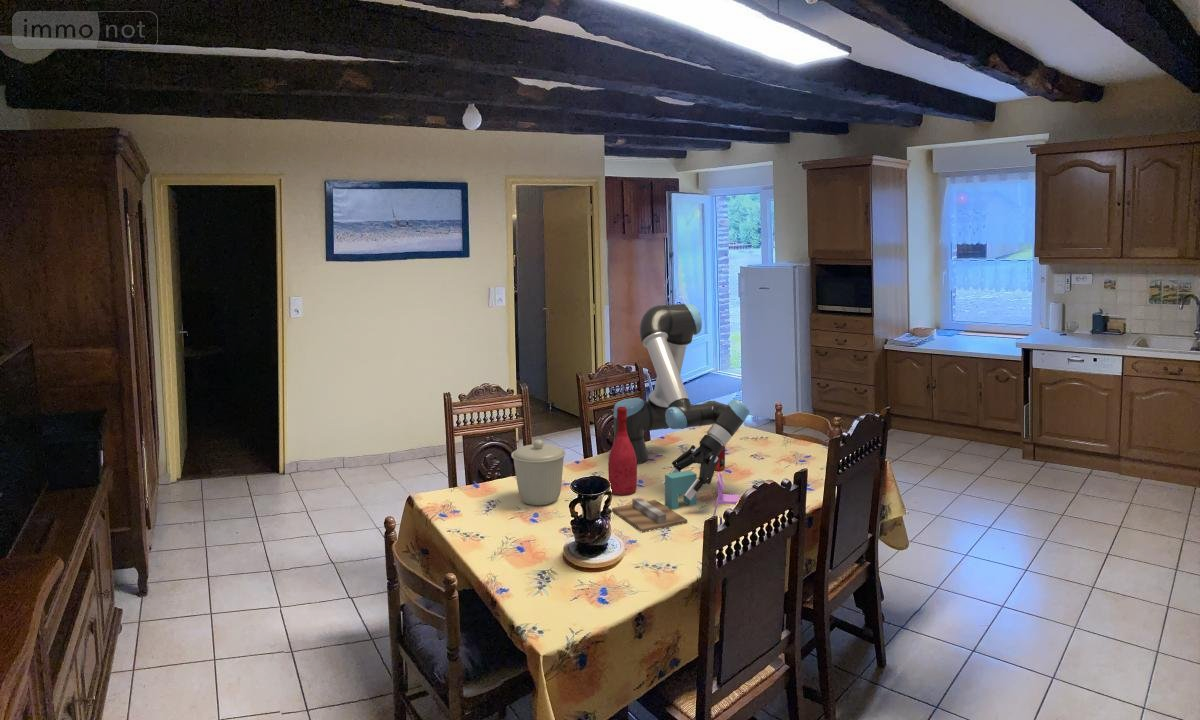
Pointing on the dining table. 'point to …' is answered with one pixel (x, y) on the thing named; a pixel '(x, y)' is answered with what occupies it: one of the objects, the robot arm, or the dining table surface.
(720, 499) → the toy chair
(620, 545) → the dining table surface
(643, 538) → the dining table surface
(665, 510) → the rail board
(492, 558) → the dining table surface
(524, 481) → the canister
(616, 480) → the wine bottle
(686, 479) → the clip
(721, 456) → the canned food
